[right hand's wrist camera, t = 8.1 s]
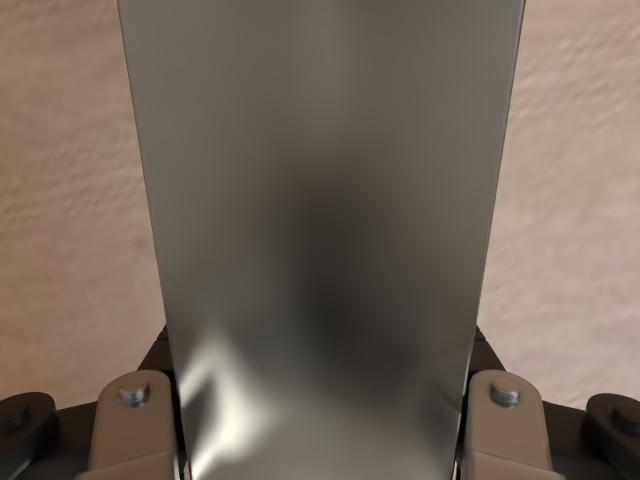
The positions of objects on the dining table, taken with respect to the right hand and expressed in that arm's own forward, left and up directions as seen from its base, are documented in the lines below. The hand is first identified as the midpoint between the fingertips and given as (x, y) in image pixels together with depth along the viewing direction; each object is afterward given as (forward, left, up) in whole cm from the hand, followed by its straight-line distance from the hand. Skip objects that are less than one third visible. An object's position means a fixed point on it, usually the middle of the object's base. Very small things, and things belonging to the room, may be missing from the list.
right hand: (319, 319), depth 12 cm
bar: (+6, +6, -4) cm, 9 cm away
